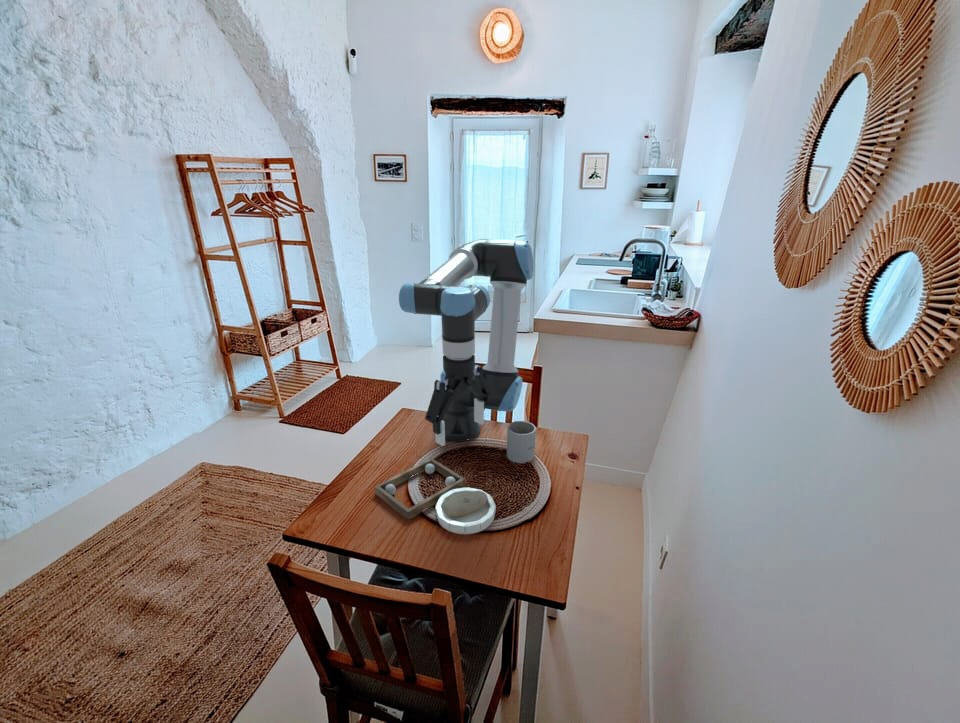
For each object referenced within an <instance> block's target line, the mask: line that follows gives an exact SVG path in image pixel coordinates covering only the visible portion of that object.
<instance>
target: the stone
mask: <svg viewBox="0 0 960 723" xmlns="http://www.w3.org/2000/svg"><path fill="white" fill-rule="evenodd" d="M482 491H483V490H482ZM482 491H472V492H467V493H462V494H459V495H456V496H454V497H452V498H450V499H448V500H447V501H446V502H445V504H444V506H443V510H444V513H445V514H446V515H447V516H449V517H461V516H465V515H468V514H471V513H473V512H475V511H477V510H479V509H480V508H482V507H483V506H484V505H485V503H486V501H487V495H486V494H485V493H486V492H485V491H484V492H485V493H484V492H482Z"/></svg>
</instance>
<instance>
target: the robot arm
mask: <svg viewBox="0 0 960 723" xmlns="http://www.w3.org/2000/svg"><path fill="white" fill-rule="evenodd" d="M533 255H534V254H533V251H532V247H531V244H529V243H528V241H524V240H523V241H522V240H517V239H511V240H510V239H488V238H486V239H485V238H483V239H475V240H472V241H469V242H467V243H465V244H463V245H460V246H459V247H457V248H455V249H454V250H453V251H452V252H451V253H450V254H449V256H448V260H446V261H445V262H444V263H442V264H441V265H439V267H437V268H436V269H434V270H433V271H432V273H430V274H429V275H427V276H426V277H425V278H424V279H422V280H421V281H420V282H419V283H415V282H411V283H409V282H408V283H407V282H406V283H404V284H403V285H401V287H400V290H399V294H398V302H399V303H398V304H399V307H400V310H401V311H403V312H404V313H409V314H414V315H428V316H438V317H439V316H440V317H441V337H442V338H441V342H442V343H441V344H442V354H443V356H442V369H443V370H442V371H441V372H440V378H439V379H436V380H435V381H434V383H433V384H434V388H433V392H432V395H431V398H430V402H429V405H428V408H427V411H426V414H425V416H424V419H425V421H427V422H429V423H431V424H432V432H433V433H434V440H435V443H437V444H438V445H440V446H442V447H444V446H446V441H449V442H450V441H451V442H464V441H463V440H466V441H468V440H467V439H470V440H472V439H471V438H473V439H475V438H476V437H478V436H479V435H480V433H481V426H483V425H484V424H485V410H490V411H491V410H492V411H498V412H512V411H514V409H516V407H517V405H518V403H519V399H520V397H521V393H522V388H523V378H522V377H521V376H519V370H518V368H517V367H516V366H515V359H516V358H515V357H516V348H517V337H518V336H517V335H518V326H519V315H520V305H521V293H522V290H523V289H524V288H525V287H526V286H527V281H530V280H532V279H533V276H534V274H533V273H534V257H533ZM472 277H486V278H487V277H489V283H490V284H491V286H492V287H493V297H492V308H491V319H490V321H491V322H490V330H489V343H488V354H487V362H486V364H484V365H483V366H480V365H477V364H476V356H475V353H476V351H475V350H476V342H475V341H476V338H475V336H476V335H475V333H476V332H475V331H476V330H475V325H476V324H475V322H476V321H477V320H478V318H480V317H481V316H482V315H483V314H484V313H486V311H487V309H488V307H489V306H490V303H491V295H490V293H489V291H488V289H487V288H486V287H485V286H483V285H481V284H479V283H473V284H469V285H467V286H460V285H461V284H462V283H463V282H464V281H465V280H467V279H468V280H469V279H470V278H472ZM474 437H475V438H474Z"/></svg>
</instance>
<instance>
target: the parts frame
mask: <svg viewBox="0 0 960 723" xmlns="http://www.w3.org/2000/svg"><path fill="white" fill-rule="evenodd" d="M427 464H433V465H434V467H435V471H436V472H437V473H439V475H441V476H444V477H445V478H447V477H450V476H451V477H454V478H455V480H456V482H454V483H452V484H451V485H449V486H445V487H444V488H442V489H440V490H439V491H437V492H435V493H433V494H432V495H430V496H428V497H426V498H425V499H423V500H422V501H419V502H418V503H416V504H415V505H413V506H410V507H409V508H408V507H407V506H406V505H405V504H403V503H402V502H400V501H399V499H397V498H396V497H394V496H393V495H390V494H389V493H388V492H386V491H385V487H386V486H387V485H388V484H393V485H394V486H395V487H396V486H398V485H400V484H402V483H404V482H406V481H408V480H410V479H411V478H410V477H411V476H412V475H415V474H417V473H420V472H421V473H423V472H425V466H426V465H427ZM422 471H423V472H422ZM421 473H420V474H421ZM409 478H410V479H409ZM465 487H466V478H465V477H463V476H461V475H460V474H458V473H456V472H455V471H453V470H452V469H450V468H449V467H447V466H446V465H443V464H442V463H441V462H438V461H437V460H435V459H433V457H430V458H427V459H425V460H424V461H422V462H420V463H418V464H416V465H414V466H412V467H410V468H408V469H406V470H404V471H403V472H400V473H398V474H396V475H394V476H393V477H390V478H389V479H386V480H385V481H382V482H380V483H379V484H377V485H374V495H375V496H377V497H378V498H380V500H382V501H383V502H385V503H386V504H387V505H388V506H390V507H391V509H393V510H395V511H396V512H398V513H399V514H400V515H401V516H402V517H404V518H405V519H406V520H407V521H410V520H412V519H413V518H416V517H417V516H419V515H420V514H422V513H423V512H424V511H423V510H424V509H426V508H428V507H430V508H432V507H433V506H436V504H437V502H438V500H439V498H440V497H441V496H442V495H443V494H445V493H447V492H449V491H450V490H453V489H458V488H465ZM431 506H432V507H431ZM428 509H429V508H428ZM422 511H423V512H422ZM421 512H422V513H421Z"/></svg>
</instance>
